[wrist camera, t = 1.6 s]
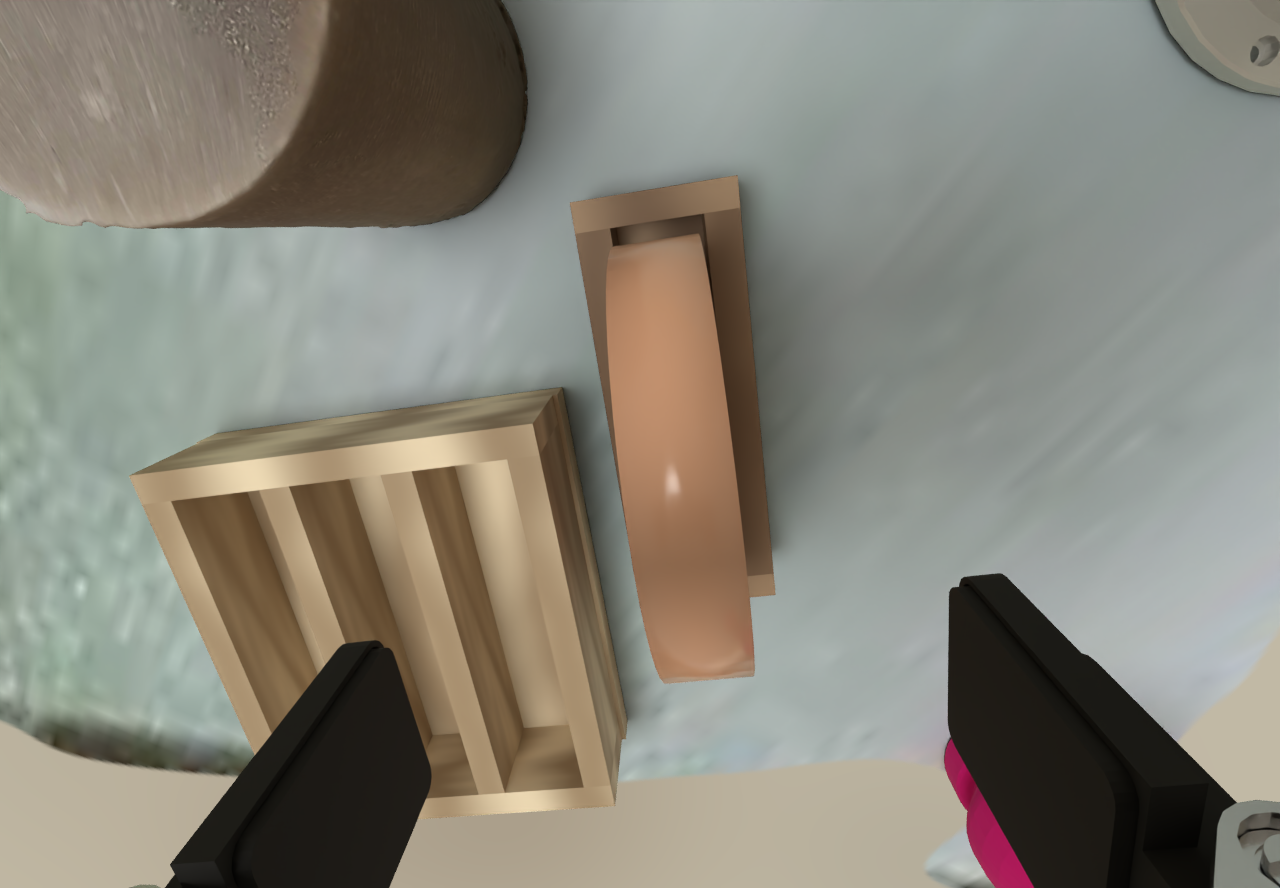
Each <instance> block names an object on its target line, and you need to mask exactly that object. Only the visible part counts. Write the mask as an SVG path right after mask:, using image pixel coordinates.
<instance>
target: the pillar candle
mask: <svg viewBox="0 0 1280 888" xmlns="http://www.w3.org/2000/svg"><path fill="white" fill-rule="evenodd" d="M525 91H527V76H526V69H525V64H524V59H523V53H522V49H521V46H520V43H519V40H518V37H517V34H516V31H515V29H514V26H513V23H512V21H511V18H510V16H509V14H508V12H507V10H506V8H505V6H504V5H503V3H502V2H501V0H0V190H2V191H4V192H5V193H7V194H9V195H11V196H13V197H16V198H18V199H19V200H21V201H22V202H23V204H24V205H25V207H26V213H35V214H37V215H38V216H40V217H41V218H42V219H44V220H45V221H48V222H53V223H58V224H61V225H67V226H82V223H83V222H92V223H95V224H96V225H98V226H101V227H105V228H106V227H109V226H119V227H125V228H151V229H156V228H204V227H207V228H209V227H222V228H253V227H303V226H318V227H346V228H353V227H370V226H379V227H380V228H388V227H393V228H397V227H402V226H417V225H426V224H432V223H435V222H439V221H442V220H448V219H450V218H453V217H456V216H459V215H464V214H466V213H468V212H470V211H471V210H472V209H473V208H474V207H475V206H476V205H478V204H479V203H480V202H482V201H483V200H484V199H485V198H486V197H487V196H488V195H489V194H490V193H491V192H492V191H493V189H494V188H495V187H496V186H497V184H498V183H499V182H500V180H501V179H502V178H503V177H504V175H505V174H506V172H507V171H508V169H509V167H510V165H511V163H512V161H513V159H514V157H515V155H516V153H517V151H518V148H519V146H520V143H521V139H522V138H521V136H522V133H523V131H524V127H525V120H526V111H527V104H528V103H527V95H526V94H525Z"/></svg>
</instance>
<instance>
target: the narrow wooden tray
mask: <svg viewBox="0 0 1280 888" xmlns="http://www.w3.org/2000/svg"><path fill="white" fill-rule="evenodd" d="M570 207H571V213H572V218H573V224H574V230H575V236H576V241H577V247H578V253H579V259H580V264H581V270H582V276H583V282H584V287H585V293H586V299H587V304H588V310H589V316H590V322H591V327H592V333H593V339H594V345H595V350H596V356H597V362H598V368H599V373H600V379H601V385H602V391H603V396H604V402H605V408H606V414H607V419H608V425H609V431H610V437H611V442H612V448H613V454H614V460H615V465H616V471H617V477H618V483H619V488H620V494H621V500H622V506H623V499H622V491H621V483H620V475H619V467H618V459H617V450H616V441H615V431H614V422H613V411H612V400H611V389H610V377H609V362H608V347H607V324H606V274H607V263H608V256H609V252H610V250H611V248H612V247H614V246H620V245H627V244H633V243H640V242H646V241H652V240H659V239H665V238H672V237H678V236H685V235H691V234H697V233H699V235H700V238H701V242H702V246H703V251H704V256H705V262H706V267H707V273H708V278H709V284H710V291H711V297H712V303H713V310H714V316H715V323H716V329H717V336H718V343H719V350H720V357H721V364H722V371H723V379H724V386H725V393H726V401H727V408H728V416H729V424H730V431H731V439H732V447H733V455H734V463H735V471H736V480H737V488H738V496H739V505H740V513H741V522H742V531H743V540H744V549H745V558H746V568H747V578H748V587H749V597H758V596H769V595H775V585H774V573H773V562H772V551H771V540H770V529H769V518H768V507H767V496H766V485H765V474H764V463H763V452H762V441H761V430H760V419H759V408H758V397H757V386H756V375H755V363H754V352H753V341H752V330H751V319H750V308H749V297H748V286H747V275H746V264H745V253H744V242H743V231H742V220H741V209H740V198H739V187H738V176H737V175H736V176H730V177H724V178H718V179H712V180H705V181H699V182H693V183H687V184H681V185H675V186H669V187H663V188H657V189H650V190H644V191H638V192H632V193H626V194H620V195H614V196H608V197H602V198H595V199H589V200H583V201H577V202H571V203H570ZM623 511H624V506H623ZM624 517H625V513H624ZM625 523H626V520H625ZM626 529H627V527H626Z"/></svg>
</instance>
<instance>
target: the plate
mask: <svg viewBox="0 0 1280 888" xmlns="http://www.w3.org/2000/svg"><path fill="white" fill-rule="evenodd" d="M606 324H607V347H608V362H609V377H610V389H611V400H612V411H613V422H614V431H615V441H616V450H617V459H618V467H619V475H620V483H621V491H622V499H623V506H624V513H625V520H626V527H627V534H628V540H629V546H630V552H631V559H632V565H633V571H634V576H635V582H636V587H637V592H638V598H639V603H640V608H641V613H642V617H643V622H644V627H645V631H646V635H647V639H648V643H649V647H650V651H651V654H652V658H653V661H654V664H655V667H656V670H657V672H658V674H659V677H660V679H661V680H662V681H663V683H664V684H671V683H683V682H694V681H706V680H718V679H729V678H741V677H753V676H754V672H755V665H754V645H753V632H752V619H751V608H750V598H749V587H748V578H747V568H746V558H745V549H744V540H743V531H742V522H741V513H740V505H739V496H738V488H737V480H736V471H735V463H734V455H733V447H732V439H731V431H730V424H729V416H728V408H727V401H726V393H725V386H724V379H723V371H722V364H721V357H720V350H719V343H718V336H717V329H716V323H715V316H714V310H713V303H712V297H711V291H710V284H709V278H708V273H707V267H706V262H705V256H704V251H703V246H702V242H701V238H700V235H699V233H697V234H691V235H685V236H678V237H672V238H665V239H659V240H652V241H646V242H640V243H633V244H627V245H620V246H614V247H612V248H611V250H610V252H609V256H608V263H607V274H606Z"/></svg>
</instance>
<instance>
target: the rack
mask: <svg viewBox="0 0 1280 888" xmlns="http://www.w3.org/2000/svg"><path fill="white" fill-rule="evenodd" d="M129 477H130V479H131V481H132V483H133V486H134V488H135V490H136V492H137V494H138V497H139V499H140V501H141V503H142V506H143V508H144V510H145V512H146V514H147V517H148V519H149V521H150V523H151V526H152V528H153V530H154V532H155V534H156V537H157V539H158V541H159V543H160V546H161V548H162V550H163V552H164V554H165V557H166V559H167V561H168V563H169V566H170V568H171V570H172V572H173V574H174V577H175V579H176V581H177V583H178V585H179V588H180V590H181V592H182V594H183V597H184V599H185V601H186V603H187V605H188V608H189V610H190V612H191V614H192V617H193V619H194V621H195V623H196V625H197V628H198V630H199V632H200V634H201V637H202V639H203V641H204V643H205V645H206V648H207V650H208V652H209V654H210V657H211V659H212V661H213V663H214V665H215V668H216V670H217V672H218V674H219V677H220V679H221V681H222V683H223V685H224V688H225V690H226V692H227V694H228V696H229V699H230V701H231V703H232V705H233V708H234V710H235V712H236V714H237V716H238V719H239V721H240V723H241V725H242V728H243V730H244V732H245V734H246V736H247V739H248V741H249V743H250V745H251V748H252V750H253V752H254V754H255V755H256V753H257V752H258V751H259V749H260V748H261V747H262V746H263V744H264V743H265V742H266V740H267V739H268V738H269V737H270V735H271V734H272V733H273V731H274V730H275V729H276V728H277V726H278V725H279V724H280V722H281V721H282V720H283V719H284V717H285V716H286V715H287V713H288V712H289V711H290V710H291V708H292V707H293V706H294V704H295V703H296V702H297V701H298V699H299V698H300V697H301V695H302V694H303V693H304V692H305V690H306V689H307V688H308V686H309V685H310V684H311V683H312V681H313V680H314V679H315V677H316V676H317V675H318V674H319V672H320V671H321V670H322V668H323V667H324V666H325V665H326V663H327V662H328V661H329V659H330V658H331V657H332V655H333V654H334V653H335V652H336V650H337V649H338V648H339V647H340V646H341V645H342V644H345V643H353V642H362V641H371V640H377V641H380V642H381V643H382V644H383V646H384V648H390V649H391V650H392V651H393V653H394V656H395V659H396V662H397V665H398V668H399V671H400V674H401V677H402V680H403V683H404V686H405V690H406V693H407V696H408V699H409V702H410V705H411V708H412V711H413V714H414V717H415V720H416V723H417V726H418V729H419V732H420V735H421V739H422V742H423V745H424V748H425V751H426V754H427V757H428V760H429V763H430V766H431V773H432V779H431V786H430V790H429V793H428V795H427V798H426V800H425V803H424V805H423V807H422V810H421V812H420V815H419V817H418V819H428V818H442V817H458V816H472V815H488V814H502V813H518V812H533V811H548V810H563V809H577V808H592V807H608V806H615V800H616V791H617V782H618V772H619V762H620V752H621V742H622V739H626V730H627V717H626V712H625V706H624V701H623V696H622V691H621V686H620V681H619V676H618V671H617V665H616V660H615V655H614V650H613V645H612V640H611V635H610V630H609V625H608V619H607V614H606V609H605V604H604V599H603V594H602V589H601V584H600V578H599V573H598V568H597V563H596V558H595V553H594V548H593V543H592V538H591V532H590V527H589V522H588V517H587V512H586V507H585V502H584V497H583V491H582V486H581V481H580V476H579V471H578V466H577V461H576V456H575V451H574V445H573V440H572V435H571V430H570V425H569V420H568V415H567V410H566V404H565V399H564V394H563V389H562V387H559V388H552V389H545V390H537V391H530V392H522V393H515V394H507V395H500V396H492V397H485V398H478V399H470V400H463V401H455V402H448V403H440V404H433V405H425V406H418V407H411V408H403V409H396V410H388V411H381V412H373V413H366V414H358V415H351V416H344V417H336V418H329V419H321V420H314V421H306V422H299V423H291V424H284V425H277V426H269V427H262V428H254V429H247V430H239V431H232V432H224V433H217V434H214V435H212V436H210V437H208V438H205V439H203V440H201V441H199V442H197V444H196V445H193V446H191V447H189V448H187V449H185V450H183V451H181V452H179V453H176V454H174V455H172V456H170V457H168V458H166V459H164V460H162V461H159V462H157V463H155V464H153V465H151V466H149V467H147V468H145V469H142V470H140V471H138V472H136V473H134V474H132V475H130V476H129Z"/></svg>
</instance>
